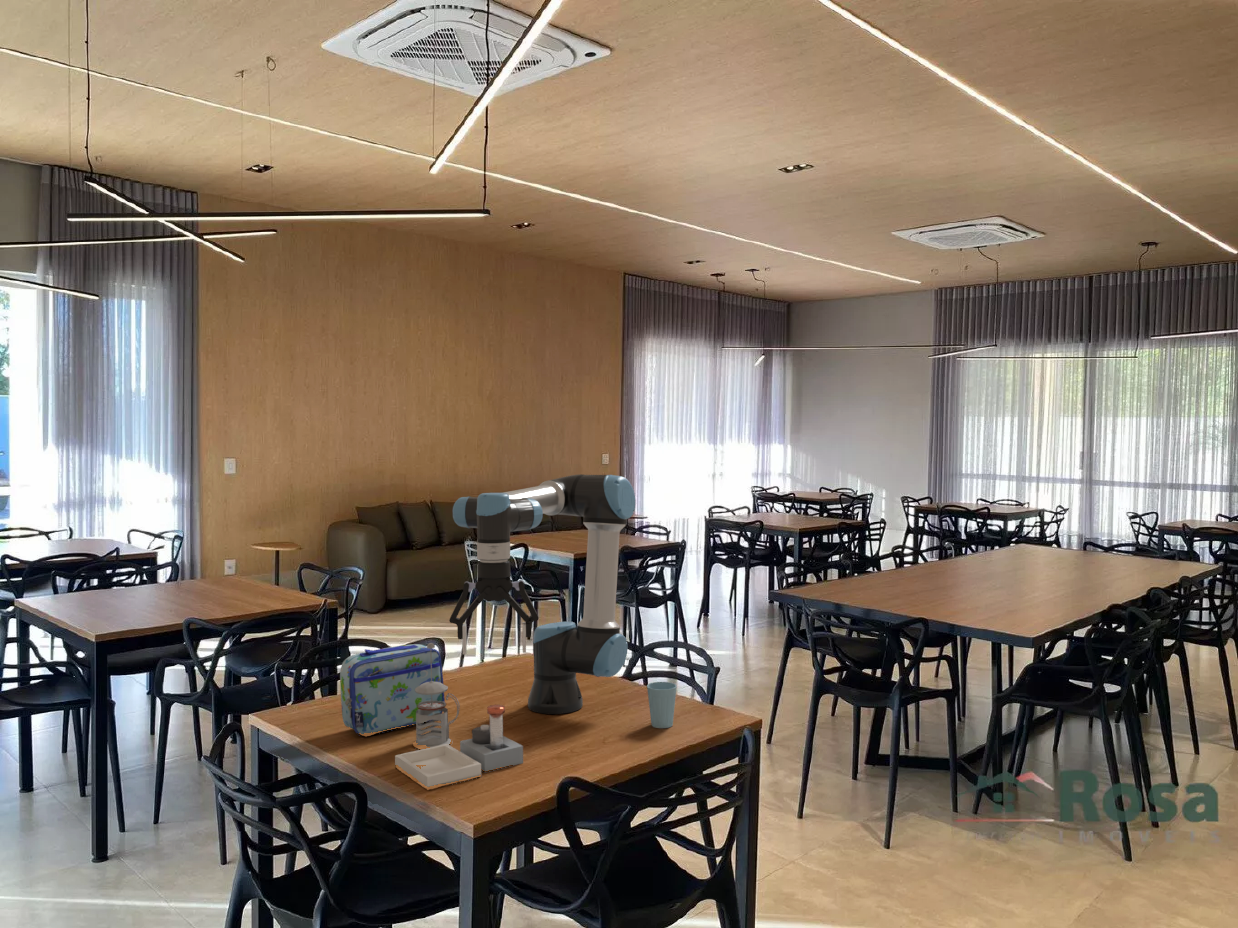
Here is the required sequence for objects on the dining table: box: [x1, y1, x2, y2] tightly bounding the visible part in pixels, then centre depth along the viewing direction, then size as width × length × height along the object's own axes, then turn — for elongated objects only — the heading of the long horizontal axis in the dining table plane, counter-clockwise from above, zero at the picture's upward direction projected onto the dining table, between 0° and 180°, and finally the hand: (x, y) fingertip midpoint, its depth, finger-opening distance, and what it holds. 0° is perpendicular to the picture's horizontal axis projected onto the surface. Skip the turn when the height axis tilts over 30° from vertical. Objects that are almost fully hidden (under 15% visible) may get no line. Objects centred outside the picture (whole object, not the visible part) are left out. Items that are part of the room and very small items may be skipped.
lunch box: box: [339, 643, 446, 735], centre depth 250 cm, size 26×11×21 cm, turn 126°
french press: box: [415, 642, 460, 747], centre depth 236 cm, size 10×12×25 cm
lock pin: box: [486, 704, 506, 751], centre depth 222 cm, size 4×4×13 cm
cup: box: [646, 681, 678, 729], centre depth 250 cm, size 8×8×10 cm
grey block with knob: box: [459, 724, 524, 771], centre depth 224 cm, size 12×10×7 cm
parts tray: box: [394, 744, 482, 787], centre depth 217 cm, size 17×13×3 cm
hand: (494, 652), depth 221 cm, fingers open, 13 cm apart
